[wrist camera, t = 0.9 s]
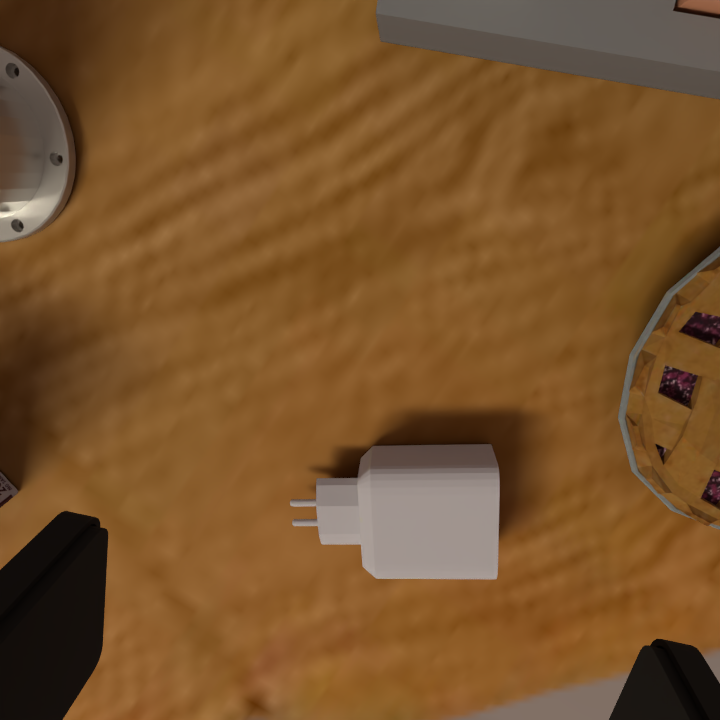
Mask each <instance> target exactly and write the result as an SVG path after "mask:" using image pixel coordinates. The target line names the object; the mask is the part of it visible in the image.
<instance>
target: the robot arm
mask: <svg viewBox="0 0 720 720" xmlns="http://www.w3.org/2000/svg"><path fill="white" fill-rule="evenodd" d="M61 157H62V158H63V162H62V160H61ZM75 167H76V153H75V145H74V138H73V134H72V131H71V127H70V124H69V121H68V117H67V115H66V113H65V111H64V109H63V107H62V105H61V103H60V101H59V99H58V97H57V96H56V94H55V93H54V91H53V90H52V89H51V87H50V86H49V84H48V83H47V81H46V80H45V79H44V78H43V77H42V76H41V75H40V74H39V73H38V72H37V71H36V70H35V69H34V68H33V67H32V66H31V65H30V64H29V63H27V62H26V61H25V60H23V59H22V58H21V57H19V56H18V55H17V54H15V53H13V52H12V51H10V50H8V49H6V48H4V47H2V46H0V242H7V241H14V240H18V239H23V238H27V237H30V236H32V235H34V234H36V233H38V232H40V231H42V230H43V229H44V228H46V227H47V226H48V225H49V224H50V223H52V222H53V221H54V220H55V219H56V217H57V216H58V215H59V213H60V212H61V211H62V210H63V208H64V206H65V204H66V202H67V200H68V198H69V196H70V194H71V190H72V186H73V182H74V178H75ZM107 548H108V531H107V529H105V528H100V521H99V519H98V518H96V517H91V516H87V515H82V514H77V513H73V512H68V511H64V512H61V513H60V514H59V515H57V516H56V517H55V518H54V519H53V520H52V521H51V522H50V523H49V524H48V525H47V526H46V527H45V528H44V529H43V530H42V531H41V532H40V533H38V534H37V535H36V536H35V537H34V538H33V539H32V540H31V541H30V542H29V543H28V544H27V545H26V546H25V547H24V548H23V549H22V550H21V551H20V552H19V553H18V554H17V555H15V556H14V557H13V558H12V559H11V560H10V561H9V562H8V563H7V564H6V565H5V566H4V567H3V568H2V569H1V570H0V720H62V719H63V718H64V716H65V715H66V713H67V712H68V710H69V709H70V707H71V705H72V704H73V702H74V701H75V699H76V698H77V696H78V695H79V693H80V691H81V690H82V688H83V687H84V685H85V684H86V682H87V680H88V679H89V677H90V676H91V674H92V673H93V671H94V669H95V667H96V665H97V663H98V661H99V658H100V655H101V652H102V646H103V627H104V607H105V587H106V568H107ZM609 720H720V683H719V682H718V680H717V678H716V677H715V675H714V674H713V672H712V670H711V669H710V667H709V665H708V664H707V662H706V661H705V659H704V657H703V656H702V654H701V653H700V652H699V650H698V649H697V648H695V647H694V646H691V645H687V644H682V643H677V642H673V641H668V640H663V639H656V640H654V641H653V642H652V644H651V645H650V646H644V647H642V649H641V650H640V652H639V655H638V657H637V659H636V661H635V663H634V666H633V668H632V670H631V672H630V674H629V677H628V679H627V681H626V683H625V686H624V688H623V690H622V692H621V694H620V696H619V699H618V701H617V703H616V705H615V708H614V710H613V712H612V714H611V716H610V718H609Z"/></svg>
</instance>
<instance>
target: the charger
mask: <svg viewBox="0 0 720 720" xmlns="http://www.w3.org/2000/svg"><path fill="white" fill-rule="evenodd" d="M499 498H500V479H499V467H498V463H497V460H496V457H495V454H494V451H493V448H492V445H491V444H458V445H395V446H372V447H371V448H370V449H369V450H368V451H367V452H366V453H365V454H364V455H363V456H362V457H361V460H360V466H359V473H358V478H317V482H316V499H293V500H291V501H290V505H291V506H316V508H317V519H294V520H293V522H292V524H293V526H318V530H319V537H320V540H321V544H361V550H362V564H363V567H364V568H365V569H366V570H367V571H368V572H369V573H371V574H372V575H373V576H374V577H375V578H376V579H497V573H498V539H499Z"/></svg>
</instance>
